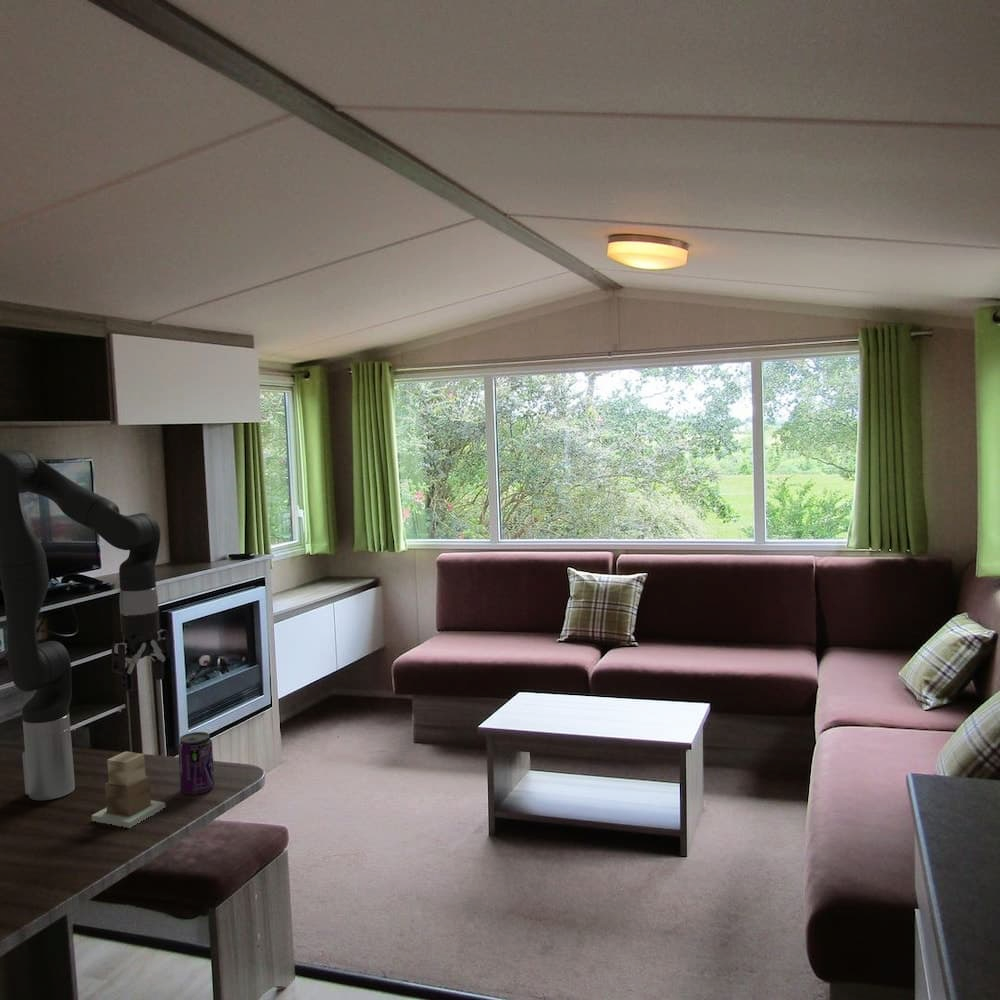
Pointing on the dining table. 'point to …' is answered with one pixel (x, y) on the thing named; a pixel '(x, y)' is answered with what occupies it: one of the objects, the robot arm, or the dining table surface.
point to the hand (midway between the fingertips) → (143, 684)
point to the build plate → (128, 820)
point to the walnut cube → (128, 797)
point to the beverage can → (196, 763)
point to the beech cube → (126, 768)
